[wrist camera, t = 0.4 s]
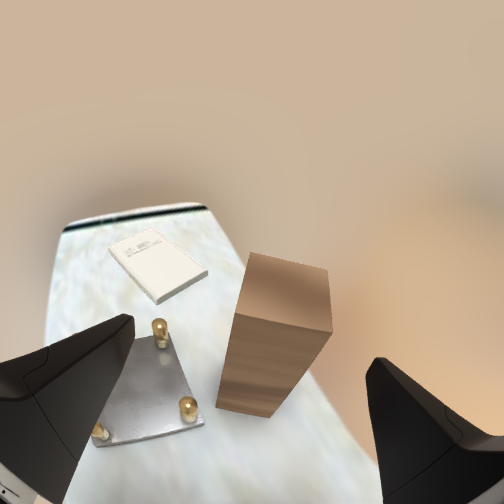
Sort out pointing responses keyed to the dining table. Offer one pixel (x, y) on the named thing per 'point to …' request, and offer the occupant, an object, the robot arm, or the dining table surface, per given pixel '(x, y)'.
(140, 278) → the external hard drive
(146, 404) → the plate
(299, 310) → the walnut post
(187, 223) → the dining table surface
